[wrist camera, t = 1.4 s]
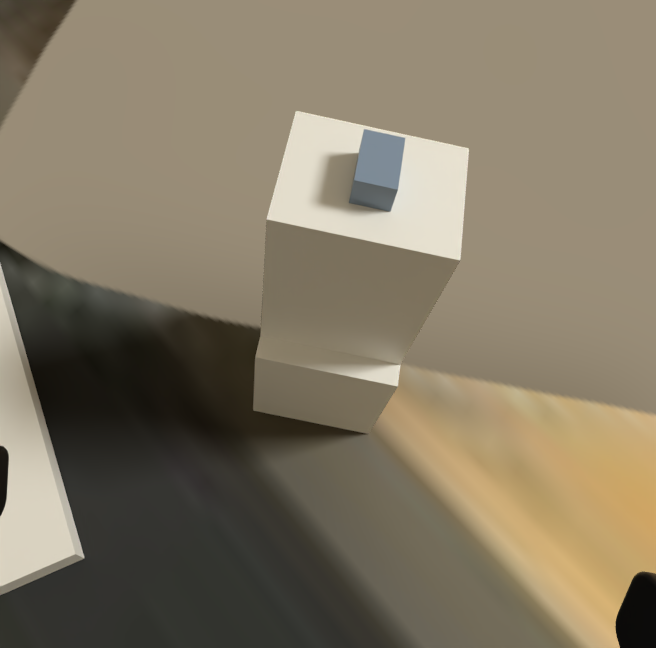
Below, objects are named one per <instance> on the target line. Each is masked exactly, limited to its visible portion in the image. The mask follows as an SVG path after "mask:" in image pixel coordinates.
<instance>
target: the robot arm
mask: <svg viewBox="0 0 656 648" xmlns="http://www.w3.org/2000/svg"><path fill="white" fill-rule="evenodd" d="M8 466H9V454H8V451H7V449H6V448H5V447H4V446H0V516H1V515H2V512H3V510H4V507H5V504H6V499H7V485H8ZM616 634H617V638H618V642H619V645H620V648H656V574H655V573H649V572H640V573H638V574H636V575H635V576H634V578H633V580H632V582H631V584H630V586H629V589H628V591H627V593H626V596H625V598H624V600H623V603H622V605H621V607H620V610H619V612H618V615H617V618H616Z"/></svg>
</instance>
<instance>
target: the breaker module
mask: <svg viewBox="0 0 656 648" xmlns="http://www.w3.org/2000/svg"><path fill="white" fill-rule="evenodd" d="M468 153H469V149H468V148H464V147H460V146H455V145H450V144H446V143H441V142H436V141H432V140H427V139H423V138H418V137H414V136H409V135H405V134H400V133H396V132H391V131H386V130H382V129H377V128H373V127H368V126H364V125H359V124H354V123H350V122H345V121H341V120H336V119H331V118H327V117H322V116H318V115H313V114H309V113H304V112H299V111H296V113H295V117H294V120H293V124H292V128H291V132H290V135H289V139H288V143H287V146H286V150H285V154H284V157H283V161H282V165H281V169H280V172H279V176H278V179H277V183H276V187H275V190H274V194H273V198H272V201H271V205H270V209H269V213H268V216H267V222H266V241H265V259H264V278H263V297H262V316H261V334H260V339H259V343H258V348H257V352H256V356H255V373H254V399H253V411H258V412H263V413H268V414H272V415H277V416H282V417H287V418H292V419H297V420H302V421H307V422H312V423H317V424H322V425H327V426H332V427H337V428H342V429H346V430H351V431H356V432H361V433H366V434H369V432H370V431H371V429H372V427H373V426H374V424H375V422H376V421H377V419H378V418H379V416H380V414H381V413H382V411H383V409H384V408H385V406H386V405H387V403H388V401H389V400H390V398H391V396H392V395H393V393H394V392H395V390H396V388H397V387H398V380H399V371H400V364H401V363H402V361H403V359H404V357H405V356H406V354H407V352H408V350H409V349H410V347H411V345H412V343H413V341H414V340H415V338H416V337H417V335H418V333H419V331H420V329H421V328H422V326H423V324H424V323H425V321H426V319H427V317H428V316H429V314H430V312H431V311H432V309H433V307H434V305H435V304H436V302H437V300H438V298H439V297H440V295H441V293H442V291H443V289H444V288H445V286H446V284H447V283H448V281H449V279H450V277H451V276H452V274H453V272H454V270H455V269H456V267H457V265H458V264H459V262H460V257H461V245H462V231H463V219H464V205H465V192H466V179H467V166H468Z"/></svg>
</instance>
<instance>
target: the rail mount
mask: <svg viewBox="0 0 656 648" xmlns="http://www.w3.org/2000/svg"><path fill="white" fill-rule="evenodd" d="M0 446H4V447H5V448H6V449H7V451H8V454H9V466H8V485H7V499H6V504H5V507H4V510H3V512H2V515H1V516H0V595H2V594H4V593H7V592H9V591H11V590H13V589H16V588H18V587H20V586H23V585H25V584H27V583H29V582H32V581H34V580H36V579H38V578H41V577H43V576H45V575H48V574H50V573H52V572H54V571H57V570H59V569H61V568H64V567H66V566H68V565H70V564H73V563H75V562H77V561H80V560H82V559H84V555H83V551H82V548H81V544H80V541H79V537H78V534H77V530H76V527H75V523H74V520H73V516H72V513H71V509H70V506H69V502H68V499H67V495H66V492H65V488H64V485H63V481H62V478H61V474H60V471H59V467H58V464H57V460H56V457H55V453H54V450H53V446H52V443H51V439H50V436H49V432H48V429H47V425H46V422H45V418H44V415H43V411H42V408H41V404H40V401H39V397H38V394H37V390H36V387H35V383H34V380H33V376H32V373H31V369H30V366H29V362H28V359H27V355H26V352H25V348H24V345H23V341H22V338H21V334H20V331H19V327H18V324H17V320H16V317H15V313H14V310H13V306H12V303H11V299H10V296H9V292H8V289H7V285H6V282H5V278H4V275H3V271H2V268H1V264H0Z"/></svg>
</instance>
